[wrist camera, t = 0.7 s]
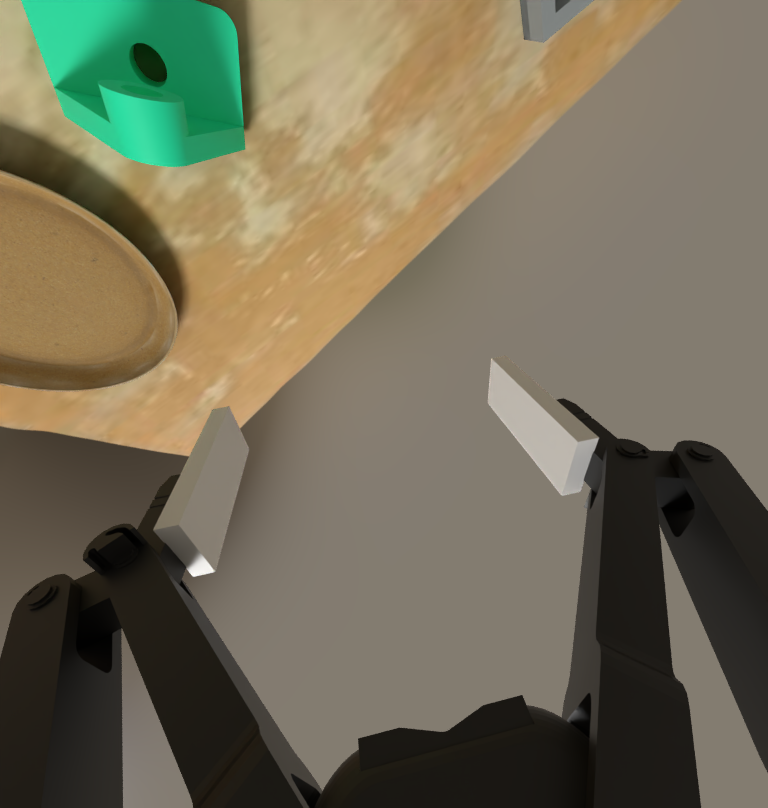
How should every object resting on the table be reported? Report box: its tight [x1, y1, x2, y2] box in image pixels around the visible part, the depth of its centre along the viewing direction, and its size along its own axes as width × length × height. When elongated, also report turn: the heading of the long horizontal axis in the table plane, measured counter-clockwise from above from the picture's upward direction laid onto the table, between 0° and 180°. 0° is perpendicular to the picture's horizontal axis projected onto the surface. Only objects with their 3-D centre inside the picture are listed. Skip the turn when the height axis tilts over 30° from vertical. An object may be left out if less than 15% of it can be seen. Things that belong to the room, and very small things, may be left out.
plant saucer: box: [0, 170, 178, 392], centre depth 32 cm, size 24×24×3 cm
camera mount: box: [21, 0, 245, 167], centre depth 21 cm, size 12×8×10 cm, turn 76°
